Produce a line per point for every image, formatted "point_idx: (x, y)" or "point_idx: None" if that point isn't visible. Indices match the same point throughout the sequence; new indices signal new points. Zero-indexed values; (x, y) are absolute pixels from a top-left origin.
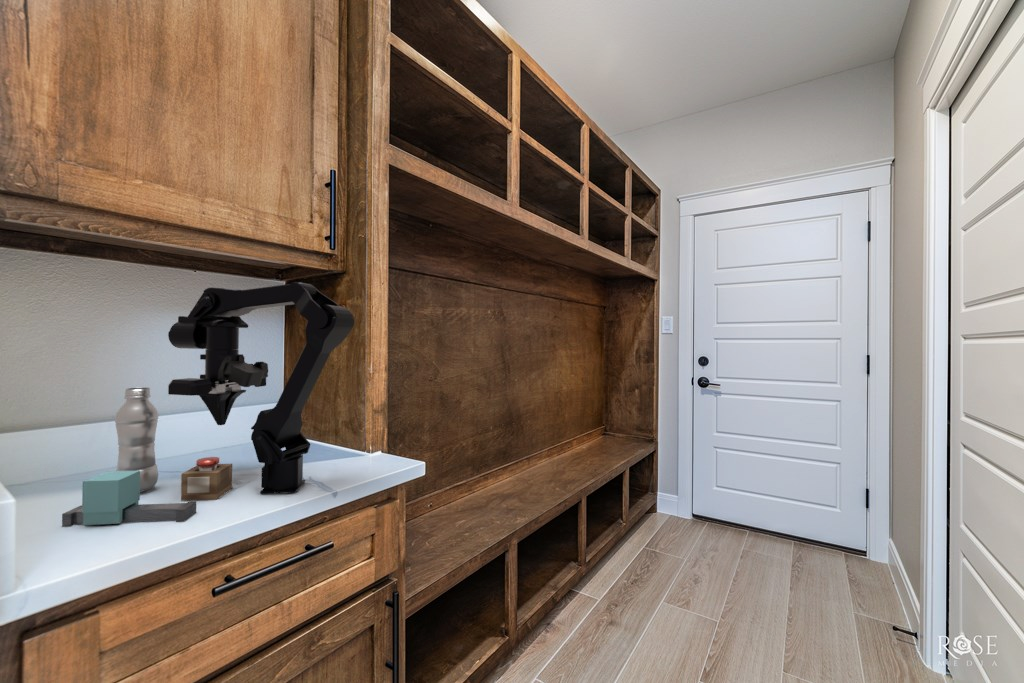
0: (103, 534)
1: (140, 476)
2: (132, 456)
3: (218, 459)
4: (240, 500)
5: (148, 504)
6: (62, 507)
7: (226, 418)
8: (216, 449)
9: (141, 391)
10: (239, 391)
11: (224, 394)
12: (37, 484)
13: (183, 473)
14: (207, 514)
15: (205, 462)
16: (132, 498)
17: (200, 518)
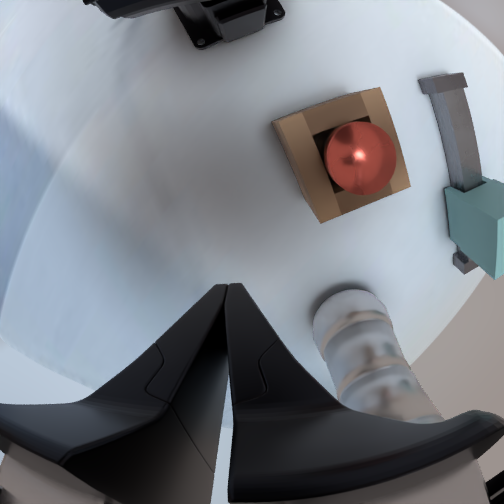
0: (494, 165)
1: (377, 307)
2: (401, 350)
3: (349, 123)
4: (333, 36)
5: (462, 164)
6: (416, 329)
7: (205, 300)
8: (98, 385)
9: None
10: (20, 441)
11: (424, 444)
12: None
13: (408, 182)
14: (414, 53)
15: (390, 140)
16: (476, 194)
17: (430, 54)
